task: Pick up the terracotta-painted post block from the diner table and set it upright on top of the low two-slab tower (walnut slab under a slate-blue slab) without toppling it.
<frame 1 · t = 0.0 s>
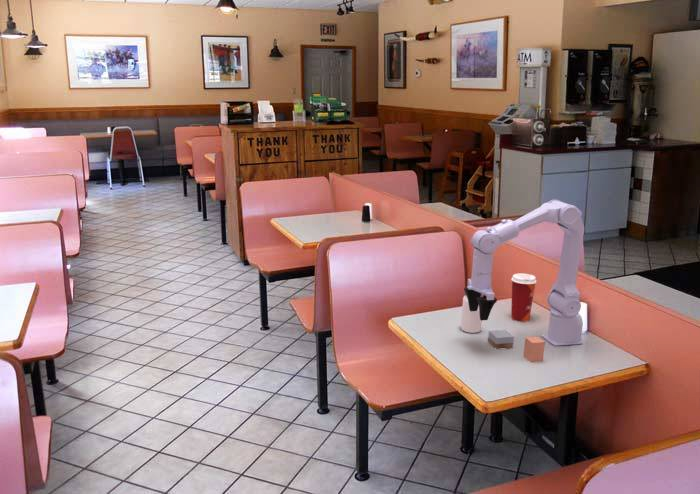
hand: (478, 315, 189), 10 cm above the table, tool pointing down, fingers open, 7 cm apart
tower upper: (500, 339, 193), point 2 cm above the table, touching tower lower
tower lower: (500, 346, 194), on the table, touching tower upper
brick block: (533, 358, 184), on the table
coffee cup: (520, 318, 216), on the table
can: (470, 330, 205), on the table
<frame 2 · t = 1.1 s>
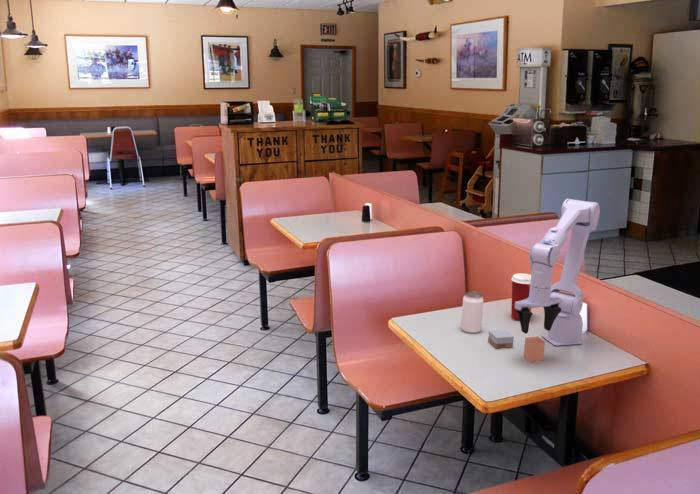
hand: (535, 330, 182), 9 cm above the table, tool pointing down, fingers open, 7 cm apart
nothing on the table moved.
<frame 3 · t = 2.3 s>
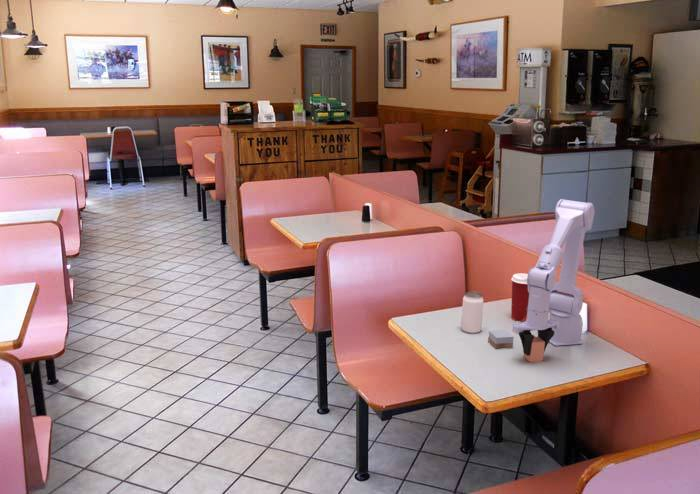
hand: (533, 353, 184), 2 cm above the table, tool pointing down, fingers closed on brick block, 4 cm apart
tower upper: (500, 339, 193), point 2 cm above the table
tower lower: (500, 346, 194), on the table
brick block: (533, 358, 184), on the table, touching gripper
everything else where it was.
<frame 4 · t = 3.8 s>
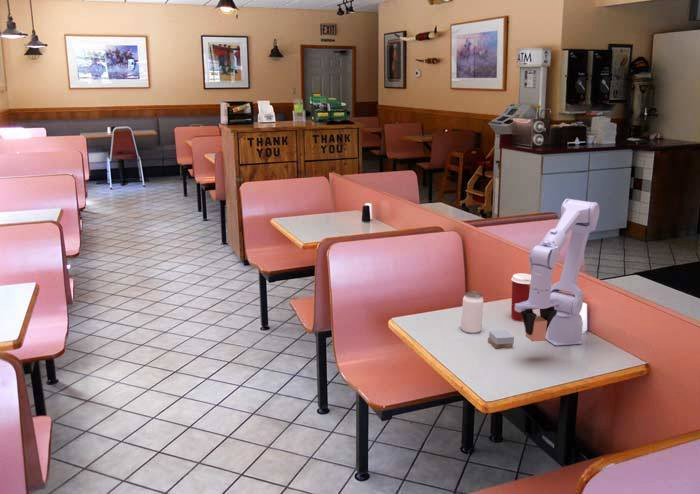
hand: (535, 332, 182), 8 cm above the table, tool pointing down, fingers closed on brick block, 4 cm apart
tower upper: (501, 340, 193), point 1 cm above the table, touching tower lower
tower lower: (499, 346, 194), on the table, touching tower upper
brick block: (535, 338, 183), point 6 cm above the table, touching gripper
everything else where it was.
when the fingers open (6 cm above the table, at t = 6.1 s): brick block stays where it is, point 4 cm above the table.
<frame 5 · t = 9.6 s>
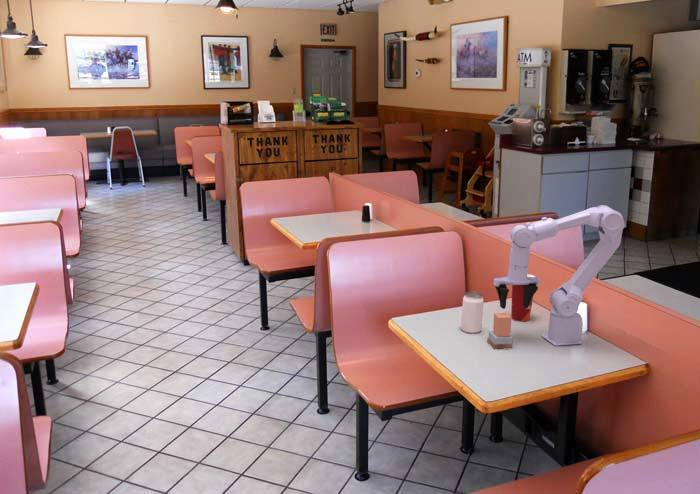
hand: (514, 307, 196), 10 cm above the table, tool pointing down, fingers open, 7 cm apart
brick block: (501, 334, 192), point 4 cm above the table
everything else where it was.
at the end: brick block 0.1 cm off-centre on the tower upper, point 2.1 cm above the tower upper's base; brick block tilted 2°; tower upper moved 0.6 cm from its start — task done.
